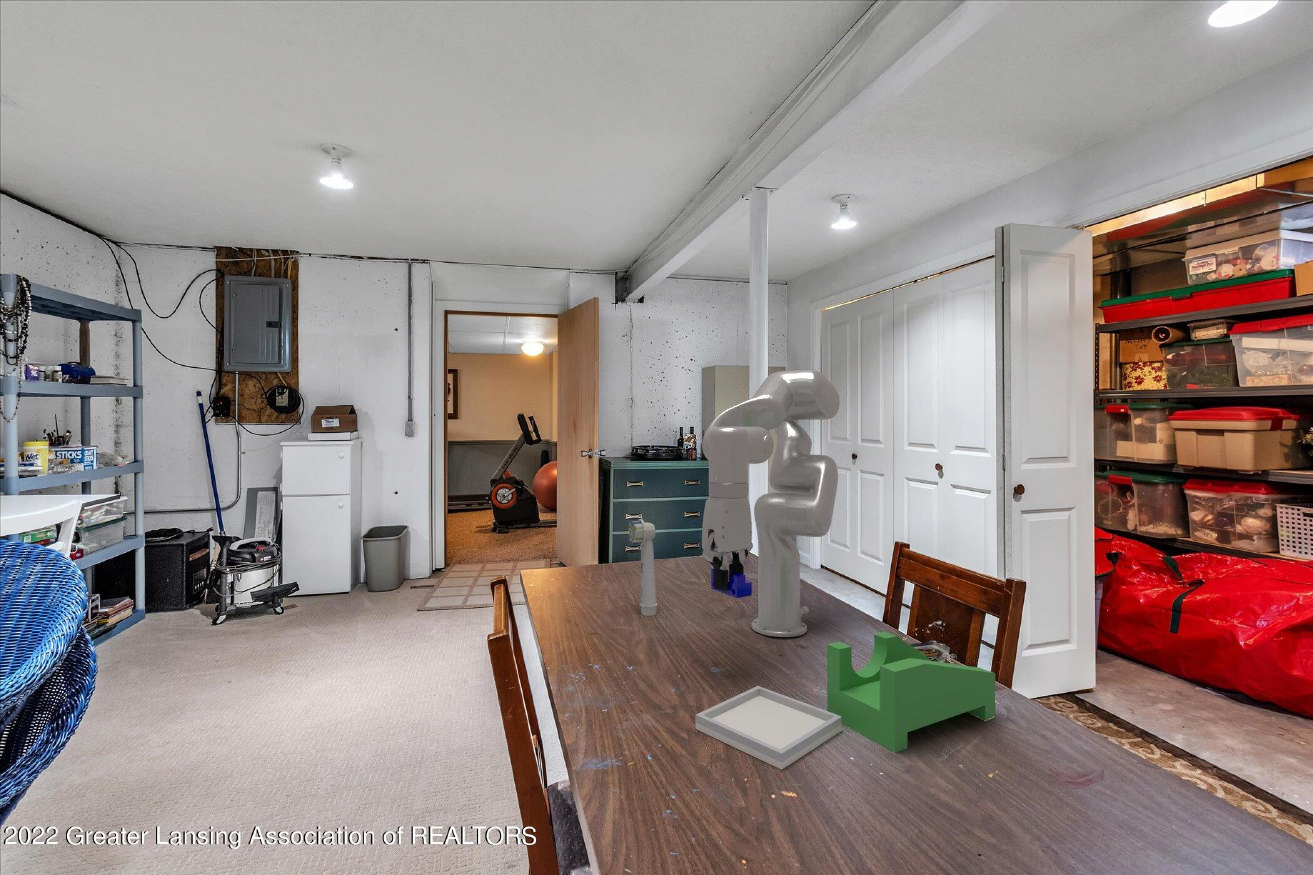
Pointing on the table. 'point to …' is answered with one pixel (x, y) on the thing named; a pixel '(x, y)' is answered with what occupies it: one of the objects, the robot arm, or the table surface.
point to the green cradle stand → (902, 690)
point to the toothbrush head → (645, 564)
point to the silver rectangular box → (940, 649)
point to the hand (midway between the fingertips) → (728, 586)
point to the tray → (769, 725)
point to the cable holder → (735, 586)
